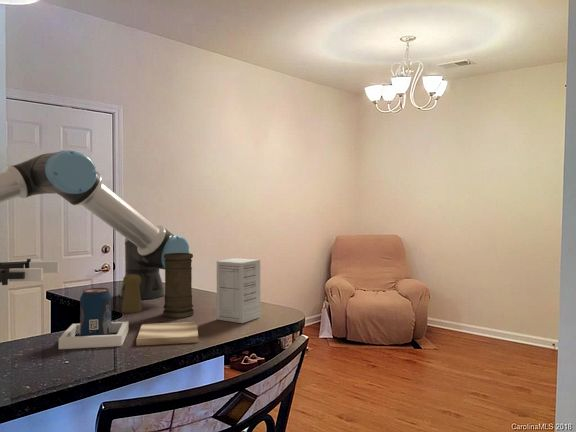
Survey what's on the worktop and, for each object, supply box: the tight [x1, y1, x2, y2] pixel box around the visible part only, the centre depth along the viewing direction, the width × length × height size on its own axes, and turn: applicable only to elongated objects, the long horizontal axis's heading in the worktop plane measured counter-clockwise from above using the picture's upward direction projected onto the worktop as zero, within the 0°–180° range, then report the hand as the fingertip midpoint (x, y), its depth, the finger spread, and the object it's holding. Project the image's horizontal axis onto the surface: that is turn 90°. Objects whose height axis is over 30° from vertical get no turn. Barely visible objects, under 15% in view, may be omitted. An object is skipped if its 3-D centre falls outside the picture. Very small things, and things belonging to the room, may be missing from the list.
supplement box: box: [216, 257, 262, 324], centre depth 136 cm, size 10×9×17 cm
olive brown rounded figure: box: [121, 274, 143, 314], centre depth 145 cm, size 6×6×11 cm
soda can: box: [79, 287, 112, 336], centre depth 114 cm, size 7×7×12 cm
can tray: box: [58, 320, 130, 350], centre depth 114 cm, size 13×13×2 cm
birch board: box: [136, 321, 199, 346], centre depth 118 cm, size 14×14×2 cm
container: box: [162, 252, 195, 319], centre depth 140 cm, size 9×9×18 cm
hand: (50, 270), depth 111 cm, fingers open, 13 cm apart
